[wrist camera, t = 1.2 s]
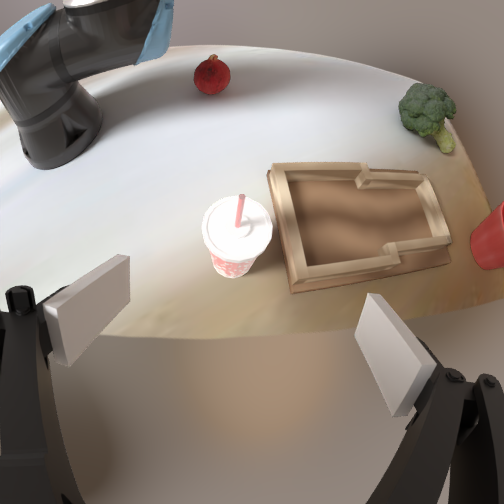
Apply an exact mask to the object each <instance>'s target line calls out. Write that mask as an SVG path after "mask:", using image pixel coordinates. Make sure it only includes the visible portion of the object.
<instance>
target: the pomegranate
mask: <svg viewBox="0 0 504 504" xmlns="http://www.w3.org/2000/svg"><path fill="white" fill-rule="evenodd" d="M217 58H218V56H217V55H215V54H213V55H211V56H210V57H209V59H208V60H205V61H203V62H202V63H201V64H199V66H198V67H197V68H196V70H195V73H194V83H195V85H196V86H197V88H198V89H199V90H200V91H202V92H203V93H205V94H216V93H218V92H220V91H222V90H223V89H225V88H226V87H227V85H228V84H229V81H230V70H229V68H228V66H227V65H226V64H225V63H224V62H222V61H221V60H218V59H217Z"/></svg>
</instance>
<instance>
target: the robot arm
mask: <svg viewBox="0 0 504 504" xmlns="http://www.w3.org/2000/svg"><path fill="white" fill-rule="evenodd" d="M63 5H64V8H63V9H60V10H57V11H56V6H54V4H52V3H49V4H47V5H44V6H41V7H39V8H37V9H36V10H34V11H33V12H31V13H29V14H28V15H26V16H25V17H23V18H22V19H21V20H19V21H18V22H17V23H15V24H14V25H13V26H12V27H10V28H9V29H8V30H7V31H6V32H5V33H3V34H2V35H1V36H0V100H1V102H2V103H3V105H4V106H5V108H6V110H7V111H8V113H9V114H10V116H11V118H12V119H13V121H14V122H15V124H16V125H17V127H18V132H19V136H20V140H21V145H22V148H23V152H24V155H25V157H26V158H27V160H28V161H29V162H30V164H31V165H32V166H33V167H35V168H37V169H42V170H46V169H52V168H56V167H58V166H61V165H63V164H65V163H67V162H69V161H70V160H72V159H73V158H75V157H76V156H77V155H79V154H80V153H81V152H82V151H83V150H84V149H85V148H86V147H87V146H88V145H89V144H90V143H91V142H92V141H93V139H94V138H95V136H96V135H97V133H98V131H99V129H100V127H101V124H102V113H101V110H100V107H99V105H98V103H97V101H96V100H95V99H94V98H93V97H92V96H91V95H90V94H89V93H88V92H87V91H86V90H85V89H84V88H83V87H82V86H81V85H80V84H79V82H78V80H81V79H84V78H87V77H90V76H93V75H96V74H99V73H102V72H106V71H109V70H113V69H117V68H120V67H124V66H128V65H134V66H135V65H138V64H139V63H141V62H145V61H149V60H153V59H157V58H160V57H161V56H163V55H164V54H165V53H166V51H167V50H168V47H169V44H170V38H171V31H172V22H173V6H174V0H63ZM5 295H6V300H7V305H8V309H9V312H2V311H0V440H1V456H0V504H85V502H84V500H83V498H82V496H81V494H80V492H79V489H78V487H77V484H76V481H75V478H74V475H73V472H72V469H71V466H70V463H69V460H68V456H67V453H66V449H65V445H64V441H63V437H62V433H61V429H60V425H59V420H58V415H57V410H56V405H55V399H54V393H53V387H52V379H51V371H50V363H49V359H48V354H49V353H50V352H51V351H52V350H53V354H54V358H55V361H56V362H57V363H60V364H62V365H64V366H67V367H70V366H71V365H72V364H73V363H74V361H75V360H76V359H77V358H78V357H79V356H80V355H81V353H82V352H83V351H84V350H85V349H86V348H87V347H88V346H89V345H90V343H91V342H92V341H93V340H94V339H95V338H96V337H97V336H98V335H99V334H100V333H101V332H102V331H103V329H104V328H105V327H106V326H107V325H108V324H109V323H110V322H111V321H112V320H113V319H114V318H115V317H116V316H117V315H118V314H119V312H120V311H121V310H122V309H123V308H124V307H125V306H126V305H127V304H128V303H129V302H130V256H125V255H119V254H117V255H116V256H114V257H113V258H111V259H109V260H108V261H106V262H105V263H103V264H101V265H100V266H98V267H97V268H95V269H94V270H92V271H90V272H89V273H87V274H86V275H84V276H83V277H81V278H80V279H78V280H77V281H75V282H74V283H72V284H71V285H68V286H65V287H62V288H60V289H59V290H57V291H56V292H55V293H53V294H51V295H50V297H49V296H48V297H47V298H45V299H44V300H42V301H41V302H40V303H38V304H37V305H36V303H35V297H34V291H33V289H32V288H31V287H29V286H15V287H12V288H10V289H9V290H7V292H6V293H5ZM354 336H355V338H356V340H357V342H358V344H359V346H360V349H361V351H362V353H363V355H364V357H365V359H366V361H367V363H368V365H369V367H370V369H371V371H372V373H373V376H374V378H375V380H376V382H377V384H378V386H379V389H380V391H381V393H382V395H383V397H384V400H385V402H386V404H387V406H388V408H389V411H390V413H391V415H392V417H398V416H407V415H408V413H409V412H410V410H411V409H412V407H413V405H414V407H415V408H416V410H417V412H416V413H415V415H414V417H413V418H412V419H411V421H410V422H409V424H408V425H407V427H406V428H405V430H407V432H406V434H405V436H404V438H403V440H402V442H401V444H400V446H399V448H398V450H397V452H396V454H395V456H394V458H393V460H392V461H391V463H390V465H389V467H388V469H387V471H386V472H385V474H384V476H383V477H382V479H381V481H380V482H379V484H378V485H377V487H376V489H375V490H374V492H373V493H372V495H371V497H370V498H369V500H368V501H367V503H366V504H437V502H438V499H439V497H440V494H441V491H442V488H443V485H444V482H445V479H446V476H447V473H448V470H449V467H450V487H449V501H448V504H504V393H503V390H502V387H501V385H500V383H499V381H498V380H497V379H496V378H495V377H493V376H492V375H489V374H481V375H480V376H479V377H478V379H477V381H476V382H475V383H471V382H466V379H465V377H464V376H463V375H462V374H461V373H460V372H459V371H457V370H455V369H452V368H444V367H443V366H442V364H441V363H440V362H439V361H438V359H437V358H436V357H435V355H433V353H432V352H431V350H429V348H428V347H427V345H426V344H425V343H424V342H423V341H421V340H420V339H419V338H418V337H415V336H414V334H413V333H412V332H411V331H410V329H409V328H408V327H407V326H406V325H405V323H404V322H403V321H402V320H401V318H400V317H399V316H398V315H397V314H396V312H395V311H394V310H393V309H392V308H391V307H390V305H389V304H388V303H387V302H386V301H385V300H384V298H383V297H382V296H381V295H380V294H375V293H368V294H367V297H366V301H365V304H364V307H363V310H362V313H361V316H360V319H359V323H358V325H357V328H356V331H355V334H354ZM477 422H478V423H477Z"/></svg>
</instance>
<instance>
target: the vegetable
mask: <svg viewBox="0 0 504 504" xmlns="http://www.w3.org/2000/svg"><path fill="white" fill-rule="evenodd" d="M399 110H400V111H399V112H400V115H401V121H402V123H403V126H404V127H405V128H407V129H410V130H414V129H415V130H416V131H418V133H419V135H420V136H421V137H425V136H427V135H431V136H433V137H434V139H435V140H436V141H437V144H438V146H439V148H440V150H441V152H443V153H449V152H451V151H452V150H453V149H454V148H455V145H456V144H455V142H454V140H453V138H452V134H451V133H448V131H447V130H446V128H445V127H444V123H445V122H444V119H445V117H447V119H453V118H454V116H453V114H455V113H456V107H455V103H454V102H453V101H452V99H450V98H449V96H448V95H447V93H446V92H445V91H444V90H443V89H442V88H437V87H434V86H433V85H430V84H422V83H415V84H413V85H412V86H411V87H410V89H409V90H408V91H407V92H406V96H404V97H403V99H402V100H401V101H400V102H399Z"/></svg>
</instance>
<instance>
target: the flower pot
mask: <svg viewBox="0 0 504 504" xmlns="http://www.w3.org/2000/svg"><path fill="white" fill-rule="evenodd" d="M470 245H471V250H472V254H473V256H474V259H475V260H476V262H477V264H478V265H479V266H480V267H481V268H483V269H485V270H490V269H496V268H501V267H504V201H503V202H502V203H501V204H500V205H499V206H498V207H497V208H496V209H495V210H494V211H493V212H492V213H491V214H490V215H489V216H488V217H487V218H486V219H485V220H484V221H483V222H482V223H481V224H480V225H479V226H478V227H477V228H476V229H475V230H474V231H473V232H472V234H471V241H470Z"/></svg>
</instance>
